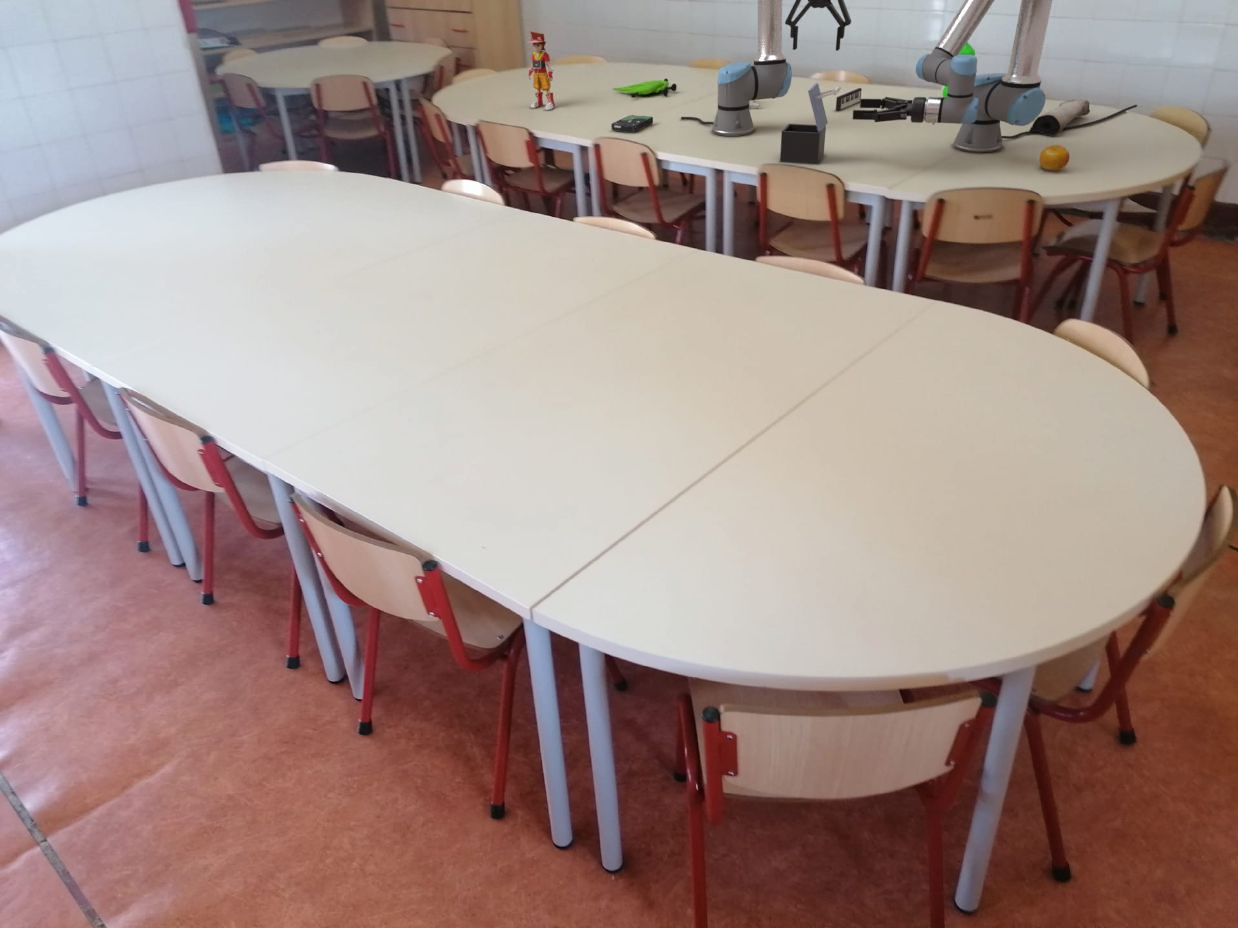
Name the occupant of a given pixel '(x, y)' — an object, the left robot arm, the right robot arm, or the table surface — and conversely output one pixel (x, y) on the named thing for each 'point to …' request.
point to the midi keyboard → (848, 99)
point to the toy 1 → (541, 71)
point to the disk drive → (632, 123)
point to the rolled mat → (1060, 117)
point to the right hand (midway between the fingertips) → (856, 109)
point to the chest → (802, 144)
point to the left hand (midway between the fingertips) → (816, 49)
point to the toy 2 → (648, 88)
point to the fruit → (1054, 157)
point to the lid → (820, 104)
